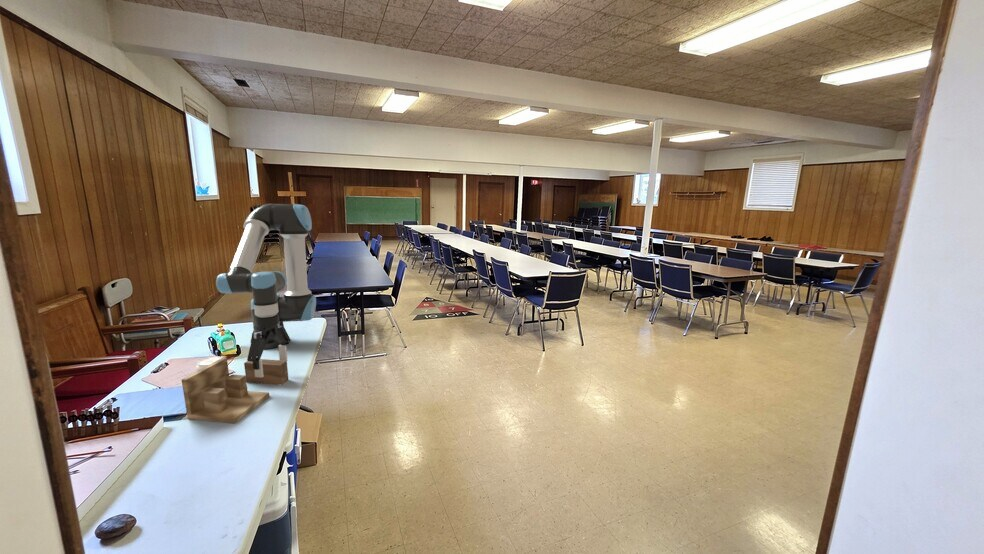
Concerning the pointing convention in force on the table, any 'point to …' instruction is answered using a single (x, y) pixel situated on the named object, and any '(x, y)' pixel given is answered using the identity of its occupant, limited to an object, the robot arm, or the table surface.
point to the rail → (268, 372)
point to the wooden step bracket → (219, 394)
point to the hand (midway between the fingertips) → (272, 368)
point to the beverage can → (207, 362)
